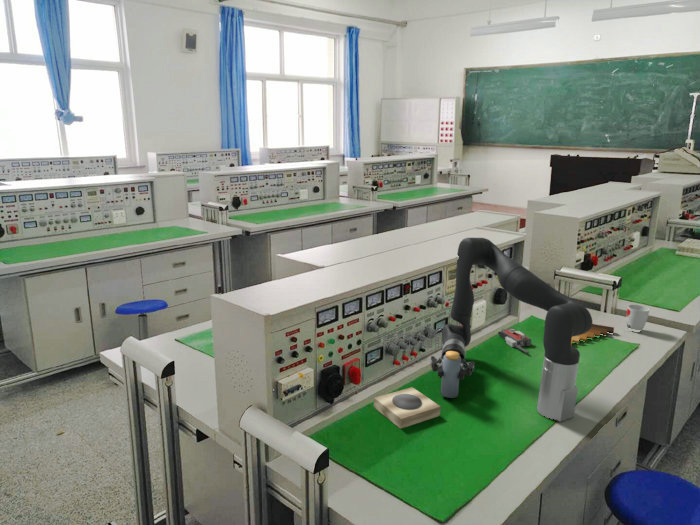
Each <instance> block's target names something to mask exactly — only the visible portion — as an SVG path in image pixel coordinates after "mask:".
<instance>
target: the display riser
mask: <svg viewBox="0 0 700 525" xmlns="http://www.w3.org/2000/svg"><path fill="white" fill-rule="evenodd" d="M373 408H374V409H376V410H377V411H378V412H379V413H380V414H381V415H383V416H384V417H385V418H387V419H388V421H390V422H391V423H393V424H394V425H395V426H397V427H398V429H400V430H401V429H405V428H407V427H411V426H413V425H416V424H420V423H422V422H425V421H428V420H432V419H434V418H437V417H440V415H441V408H442V407H441V405H439V404H437V403H436V402H435V401H433V400H432V399H431V398H429V397H427V396H426V395H425V394H423V393H422V392H420V391H419V390H417V389H416V388H414V387H413V386H411V387H408V388H405V389H401V390H397V391H393V392H390V393H386V394H383V395H378V396H376V397H373Z"/></svg>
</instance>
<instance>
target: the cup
mask: <svg viewBox="0 0 700 525" xmlns="http://www.w3.org/2000/svg"><path fill="white" fill-rule="evenodd" d="M649 313H650V308H649V307H647V306H644V305H641V304H640V305H639V304H628V305H627V308H626V328H627V327H628V328H631V329H635V330H642V331H643V329H644V328H645V326H646V323H647V321H648V318H649V315H650V314H649ZM628 328H627V329H628Z"/></svg>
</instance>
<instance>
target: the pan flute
mask: <svg viewBox="0 0 700 525" xmlns="http://www.w3.org/2000/svg"><path fill="white" fill-rule="evenodd" d="M614 330H615V328H614V326H613V327H612V326H607V325H601V324H596V323H592V327H591V329H590V330H589V331H588V332H586V333H584V334H581V335H578V336H573V337H572V339H571V346H572V347H573V343H572V342H575V343H579V344H580V341H579V340H583V341H586V342H587V338H593V337H594V335H595V336H600V334H603V335H608V334H607V332H609V333H613V334H614V332H615V331H614ZM600 337H601V336H600ZM593 339H594V338H593Z"/></svg>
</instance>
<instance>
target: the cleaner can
mask: <svg viewBox="0 0 700 525" xmlns="http://www.w3.org/2000/svg"><path fill="white" fill-rule="evenodd" d="M460 366H461V357H460V356H459V353H458V352H455V351H447V352H446V355H444V357H443V371H442V378H441V385H440V395H441V396H442V397H445V398H450V399H454V398H457V397H458V396H459V388H460V380H459V375H460Z"/></svg>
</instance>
